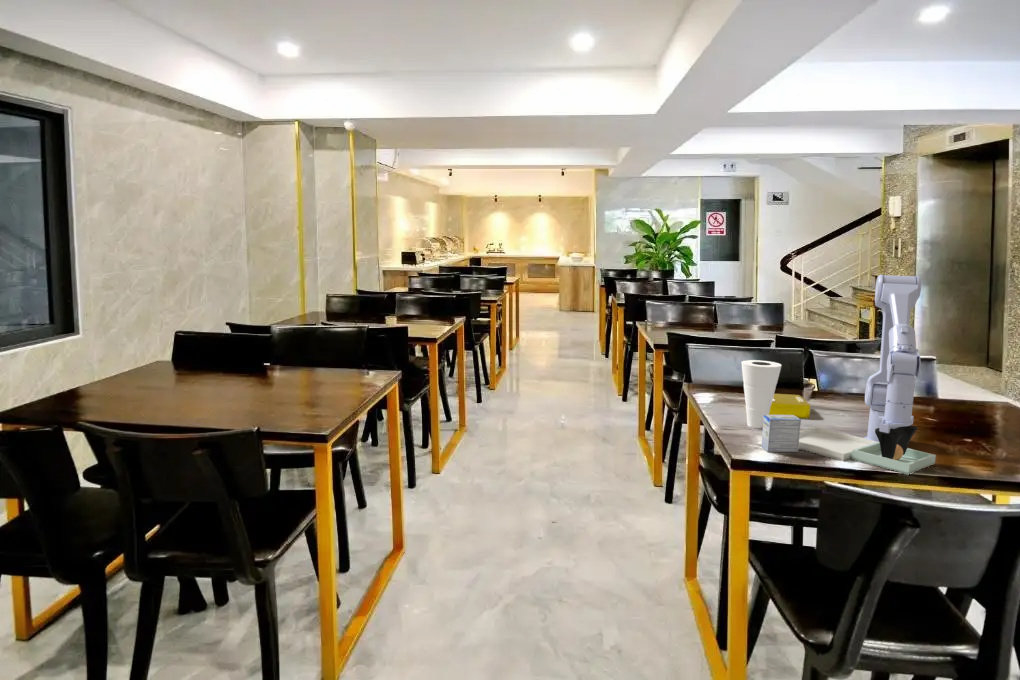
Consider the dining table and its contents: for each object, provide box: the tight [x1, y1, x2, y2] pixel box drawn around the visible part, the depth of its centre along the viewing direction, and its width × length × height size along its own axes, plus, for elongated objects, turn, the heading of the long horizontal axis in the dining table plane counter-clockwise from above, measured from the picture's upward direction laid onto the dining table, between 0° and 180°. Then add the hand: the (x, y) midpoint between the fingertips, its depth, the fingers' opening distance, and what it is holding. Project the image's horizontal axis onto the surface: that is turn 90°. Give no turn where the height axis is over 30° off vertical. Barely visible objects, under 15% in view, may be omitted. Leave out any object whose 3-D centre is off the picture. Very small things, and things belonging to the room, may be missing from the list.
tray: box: [798, 426, 877, 462], centre depth 191 cm, size 18×18×2 cm
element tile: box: [769, 393, 811, 419], centre depth 227 cm, size 15×15×5 cm
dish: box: [851, 442, 937, 476], centre depth 178 cm, size 13×13×2 cm
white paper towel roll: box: [740, 359, 782, 429], centre depth 207 cm, size 11×11×18 cm
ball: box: [893, 444, 903, 460], centre depth 178 cm, size 4×4×4 cm
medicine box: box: [761, 415, 802, 453], centre depth 186 cm, size 8×4×9 cm, turn 92°
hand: (893, 456), depth 178 cm, fingers open, 6 cm apart
